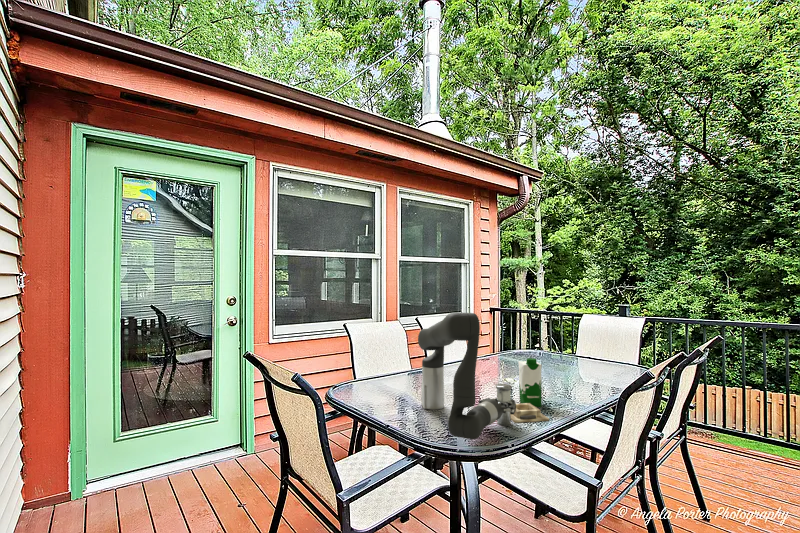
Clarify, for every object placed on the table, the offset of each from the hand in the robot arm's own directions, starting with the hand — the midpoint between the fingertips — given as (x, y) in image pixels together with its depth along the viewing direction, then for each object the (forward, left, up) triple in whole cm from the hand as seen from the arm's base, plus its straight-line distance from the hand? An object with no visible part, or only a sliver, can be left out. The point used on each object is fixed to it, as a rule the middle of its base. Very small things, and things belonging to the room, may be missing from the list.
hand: (506, 400), depth 157 cm
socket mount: (+9, +5, -8) cm, 13 cm away
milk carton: (+18, +18, -8) cm, 27 cm away
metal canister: (-2, -2, -8) cm, 8 cm away
